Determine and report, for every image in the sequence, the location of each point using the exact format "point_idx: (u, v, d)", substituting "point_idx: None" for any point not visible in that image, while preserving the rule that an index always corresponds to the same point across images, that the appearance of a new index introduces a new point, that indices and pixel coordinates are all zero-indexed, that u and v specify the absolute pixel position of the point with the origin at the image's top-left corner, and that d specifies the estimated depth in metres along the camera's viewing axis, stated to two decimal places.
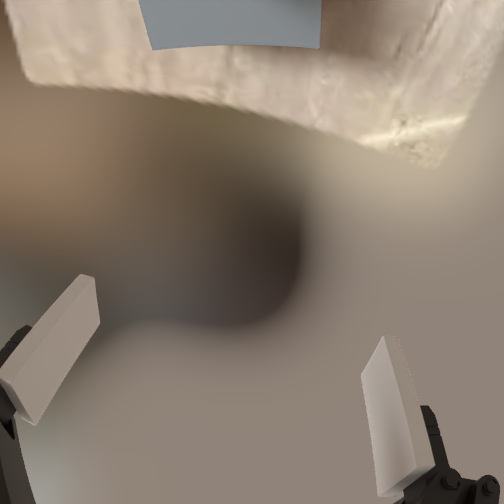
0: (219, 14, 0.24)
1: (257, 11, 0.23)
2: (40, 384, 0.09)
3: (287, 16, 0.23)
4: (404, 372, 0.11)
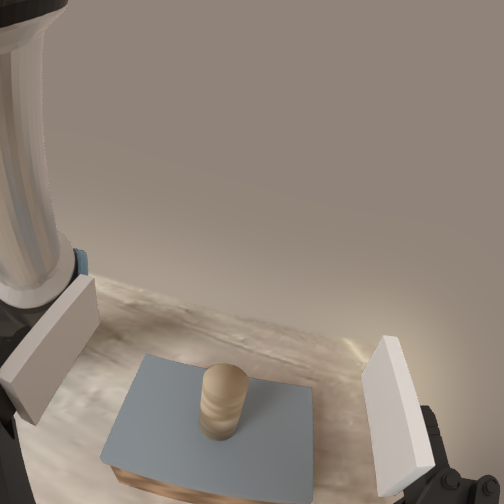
0: (284, 441, 0.33)
1: (283, 417, 0.36)
2: (40, 384, 0.09)
3: (287, 401, 0.38)
4: (404, 372, 0.11)
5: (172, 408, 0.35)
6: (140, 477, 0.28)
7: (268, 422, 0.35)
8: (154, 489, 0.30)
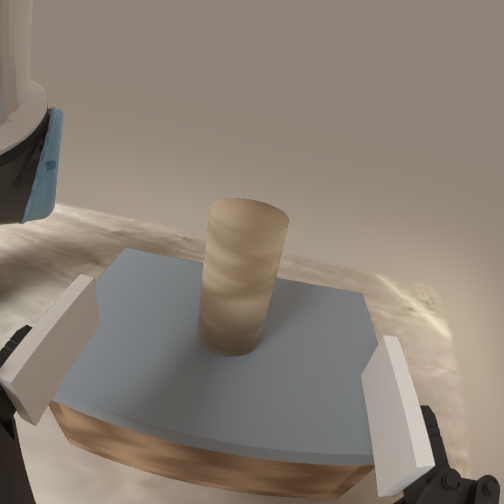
0: (339, 358, 0.21)
1: (331, 325, 0.25)
2: (40, 384, 0.09)
3: (332, 306, 0.27)
4: (404, 372, 0.11)
5: (155, 308, 0.23)
6: (94, 425, 0.17)
7: (310, 332, 0.24)
8: (120, 454, 0.19)
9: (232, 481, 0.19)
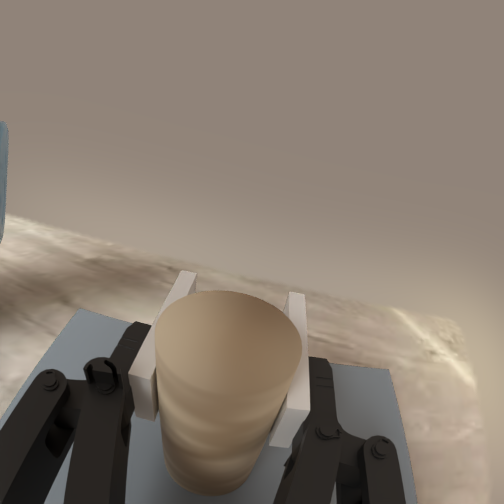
0: None
1: (349, 431, 0.16)
2: None
3: (352, 398, 0.18)
4: (300, 323, 0.13)
5: None
6: None
7: None
8: None
9: None
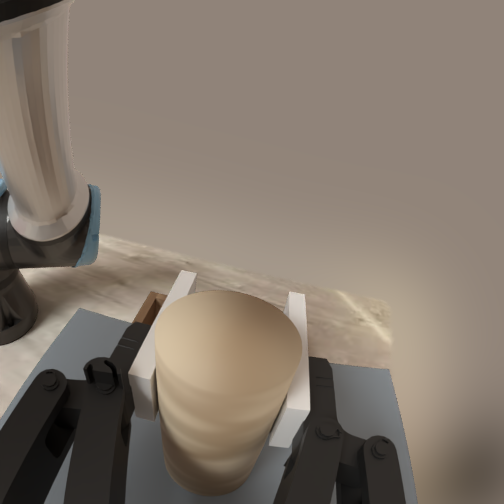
0: None
1: (350, 431, 0.16)
2: None
3: (352, 398, 0.18)
4: (300, 323, 0.13)
5: None
6: None
7: None
8: None
9: None
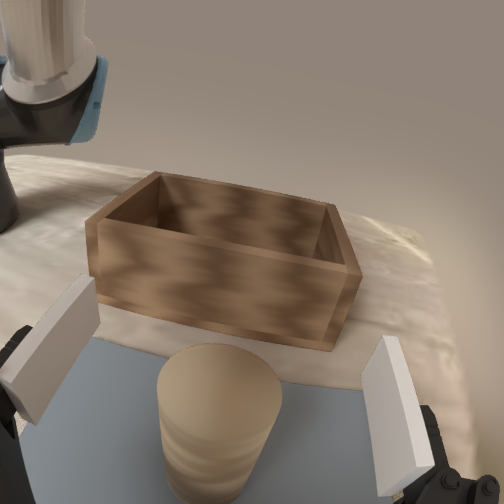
0: (340, 499, 0.14)
1: (334, 451, 0.17)
2: (40, 384, 0.09)
3: (338, 420, 0.20)
4: (404, 372, 0.11)
5: (116, 437, 0.16)
6: (124, 255, 0.25)
7: (308, 465, 0.16)
8: (140, 295, 0.26)
9: (235, 315, 0.26)
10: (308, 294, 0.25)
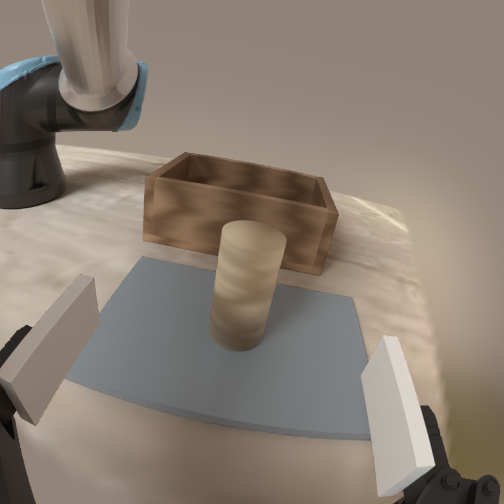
0: (329, 354, 0.26)
1: (323, 326, 0.29)
2: (40, 384, 0.09)
3: (325, 309, 0.31)
4: (404, 372, 0.11)
5: (172, 311, 0.27)
6: (173, 202, 0.36)
7: (304, 331, 0.28)
8: (182, 232, 0.38)
9: None
10: (302, 227, 0.36)
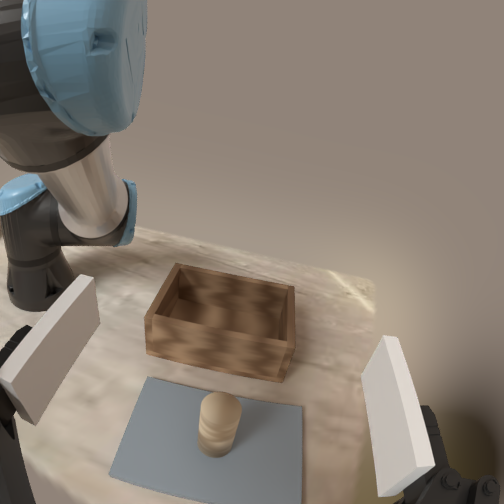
0: (275, 457, 0.35)
1: (274, 435, 0.38)
2: (40, 384, 0.09)
3: (279, 420, 0.41)
4: (404, 372, 0.11)
5: (173, 428, 0.37)
6: (167, 334, 0.46)
7: (261, 440, 0.37)
8: (176, 352, 0.47)
9: (228, 364, 0.47)
10: (266, 355, 0.46)
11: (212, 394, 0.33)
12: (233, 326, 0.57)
